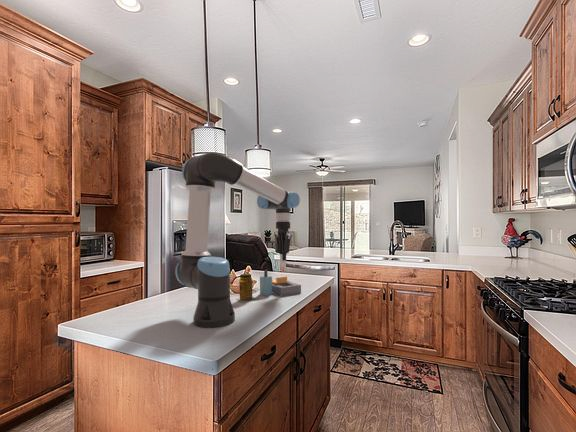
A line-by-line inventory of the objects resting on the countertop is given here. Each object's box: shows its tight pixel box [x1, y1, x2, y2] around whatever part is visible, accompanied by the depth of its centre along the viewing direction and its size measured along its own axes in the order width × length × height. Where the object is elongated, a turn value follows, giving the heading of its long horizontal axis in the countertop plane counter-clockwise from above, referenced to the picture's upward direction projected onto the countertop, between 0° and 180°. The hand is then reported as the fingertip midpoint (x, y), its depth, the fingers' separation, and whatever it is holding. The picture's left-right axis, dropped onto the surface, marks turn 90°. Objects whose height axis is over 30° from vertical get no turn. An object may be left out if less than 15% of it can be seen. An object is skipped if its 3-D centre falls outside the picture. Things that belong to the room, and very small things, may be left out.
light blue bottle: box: [259, 269, 273, 296], centre depth 158 cm, size 4×4×12 cm
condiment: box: [236, 273, 259, 303], centre depth 148 cm, size 7×8×12 cm
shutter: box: [272, 275, 290, 284], centre depth 167 cm, size 8×8×3 cm
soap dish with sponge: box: [272, 281, 302, 297], centre depth 164 cm, size 18×12×4 cm, turn 32°
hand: (283, 266), depth 162 cm, fingers closed
